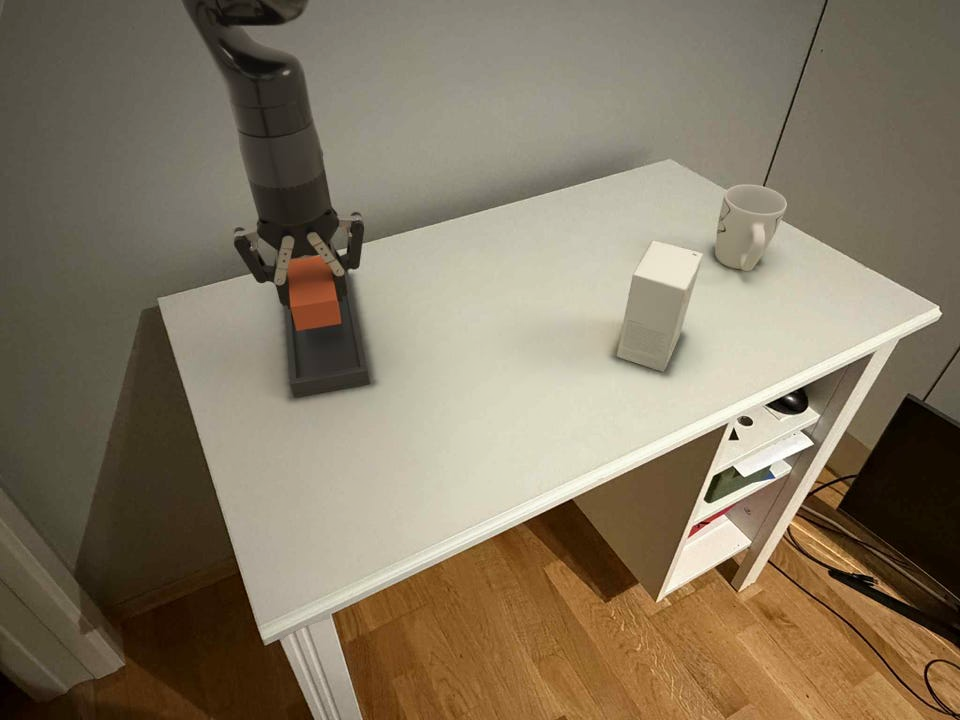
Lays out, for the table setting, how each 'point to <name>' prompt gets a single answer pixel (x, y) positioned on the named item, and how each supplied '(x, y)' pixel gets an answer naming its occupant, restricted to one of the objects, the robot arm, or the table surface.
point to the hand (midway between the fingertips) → (315, 300)
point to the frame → (327, 352)
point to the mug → (747, 224)
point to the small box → (658, 304)
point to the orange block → (312, 294)
